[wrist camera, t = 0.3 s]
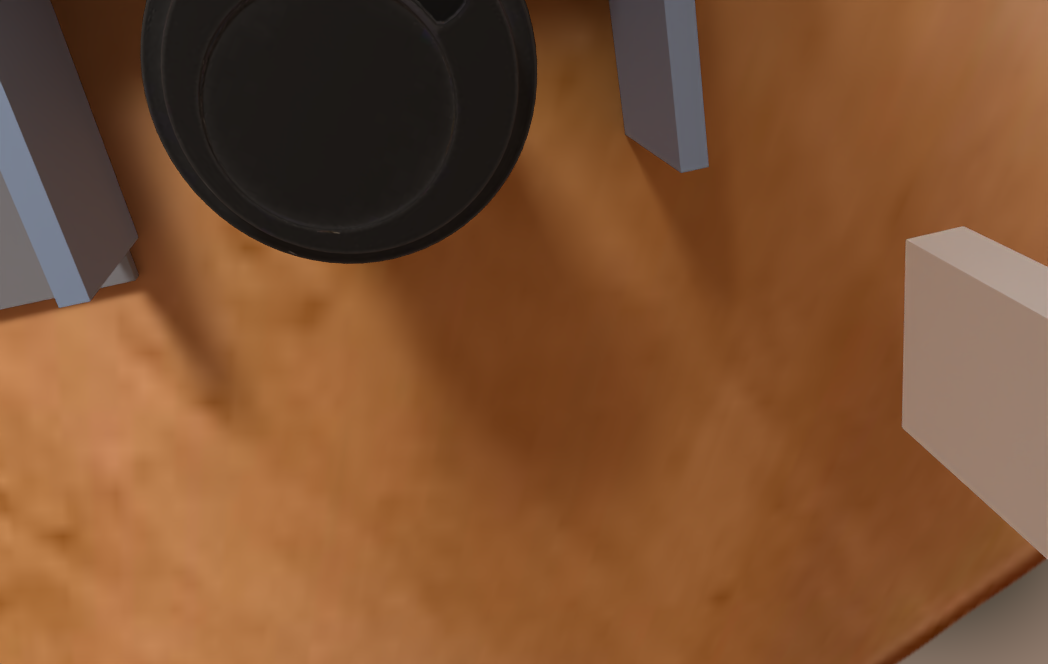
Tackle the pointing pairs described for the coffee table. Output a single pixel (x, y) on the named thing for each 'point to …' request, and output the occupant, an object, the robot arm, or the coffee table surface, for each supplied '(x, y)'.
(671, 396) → the coffee table surface
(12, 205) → the coaster
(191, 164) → the coffee cup
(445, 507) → the coffee table surface
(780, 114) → the coffee table surface
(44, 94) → the grey u-shaped wall
